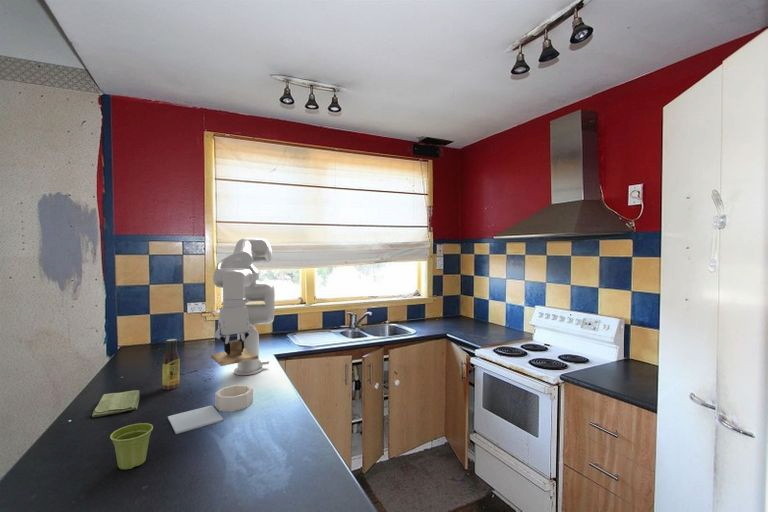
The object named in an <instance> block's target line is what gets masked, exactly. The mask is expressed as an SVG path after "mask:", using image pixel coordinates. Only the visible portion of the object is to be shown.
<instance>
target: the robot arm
mask: <svg viewBox="0 0 768 512" xmlns="http://www.w3.org/2000/svg"><path fill="white" fill-rule="evenodd" d="M272 259H273V250H272V247H271V244H270V242H269V241H268V240H267V239H265V238H260V237H259V238H258V237H255V238H254V237H251V238H250V237H245V238H241V239H239V240H238V241H237V242H236V244H235V247H234V251H233V253H232V254H230V255H228V256H226V257H224V258H223V259H221V260H220V261H219V262H217V264H216V266H215V269H214V272H213V275H212V276H213V277H212V282H213V284H214V286H215V287H217V288H220V289H221V288H222V307H220V308H219V314H218V322H217V323H218V325H217V329H216V331H215V332H214V335H213V337H214V338H216V339H218V340H220V341H221V342H223V347H224V349H223V350H224V351H223V352H226V353H227V354H230V344H229V341H230V336H234V335H237V339H236V340H240V341H241V342H242V352H243V349H244V348H247V349H248V350H250V351H252V352H253V353H255V354H256V355H258V359H255V360H250V361H245V362H240V363H237V367H236V368H234V370H233V373H234V374H235V375H236V376H250V375H256V374H258V373H261V372H262V371H263V365H265V366H266V365H269V364H270V361H269V359H267V360H264V359H261V360H260V343H259V342H260V339H259V338H260V333H259V331H258V329H257V328H256V325H270V324H272V323H273V322H274V320H275V301H276V300H275V298H276V297H275V296H276V295H275V286H274V284H273V283H272V282H270V281H259V280H260V278H259V277H260V273H259V270H258V269H257V268H256V266H255V265H254V264H255V263H256V264H257V263H258V264H259V263H261V264H262V263H264V264H266V263H269V262H271V261H272ZM255 302H256V304H255ZM258 302H260V304H257V303H258ZM261 302H263V303H261ZM247 303H251V304H247ZM220 334H221V335H220Z"/></svg>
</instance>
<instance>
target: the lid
mask: <svg viewBox="0 0 768 512" xmlns="http://www.w3.org/2000/svg"><path fill="white" fill-rule="evenodd" d="M229 344H230V354H227V353H226V352H225V351H221V352H217V353H215V352H214V353H211V354H210V358H211V359H212V360H213V361H214V362H215V363H216V364H218V365H219V366H220V367H224V366H229V365H234V364H238V363H240V362H245V361H250V360H255V359H258V355H256V354H255V353H253V352H252V351H250V350H248V349H247V348H244V349H243V352H242V342H241V341H240V340H237V339H233V340H229Z"/></svg>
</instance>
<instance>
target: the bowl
mask: <svg viewBox="0 0 768 512" xmlns="http://www.w3.org/2000/svg"><path fill="white" fill-rule="evenodd" d="M214 394H215V395H214V401H215V402H214V403H215V404H214V406H215V407H214V408H215V409H216V410H218V412H228V411H229V412H230V413H234V412H236V410H237V411H240V409H241V410H244V409H247V408H248V407H249V406H250V405H252V404H253V403H252V402H254V395H253V394H254V388H253V387H251V386H250V385H248V384H234V385H233V384H232V385H228V386H226V387H222V388H220V389H219V390H217V391H216V392H215V393H214ZM246 407H247V408H246ZM243 408H244V409H243Z"/></svg>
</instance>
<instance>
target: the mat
mask: <svg viewBox="0 0 768 512" xmlns="http://www.w3.org/2000/svg"><path fill="white" fill-rule="evenodd" d="M167 420H168V421H169V423H170V425H171V428H172V429H173V431H174V434H175V435H178V434H182V433H185V432H188V431H192V430H195V429H199V428H202V427H206V426H209V425H212V424H213V425H214V424H215V423H221V422H222V421H224V418H223V416H222V415H221V414H220V413H219V411H217V408H216V407H214V406H213V405H211V404H210V405H207V406H204V407H200V408H195V409H191V410H188V411H183V412H180V413H175V414H172V415H169V416H168V415H167Z"/></svg>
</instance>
